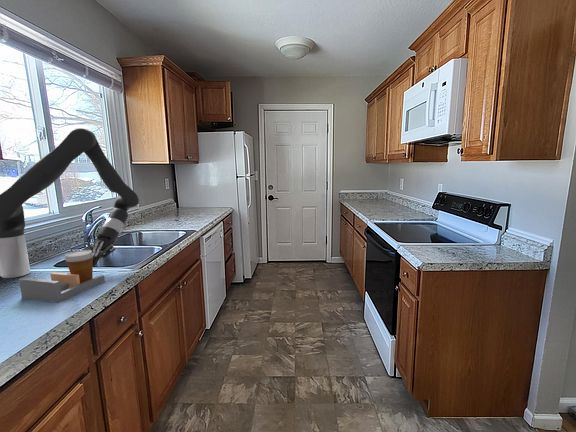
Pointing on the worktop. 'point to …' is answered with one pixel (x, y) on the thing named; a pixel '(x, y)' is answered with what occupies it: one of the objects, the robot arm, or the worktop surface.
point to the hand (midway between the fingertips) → (90, 265)
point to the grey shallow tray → (53, 289)
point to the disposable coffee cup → (81, 264)
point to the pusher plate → (65, 280)
